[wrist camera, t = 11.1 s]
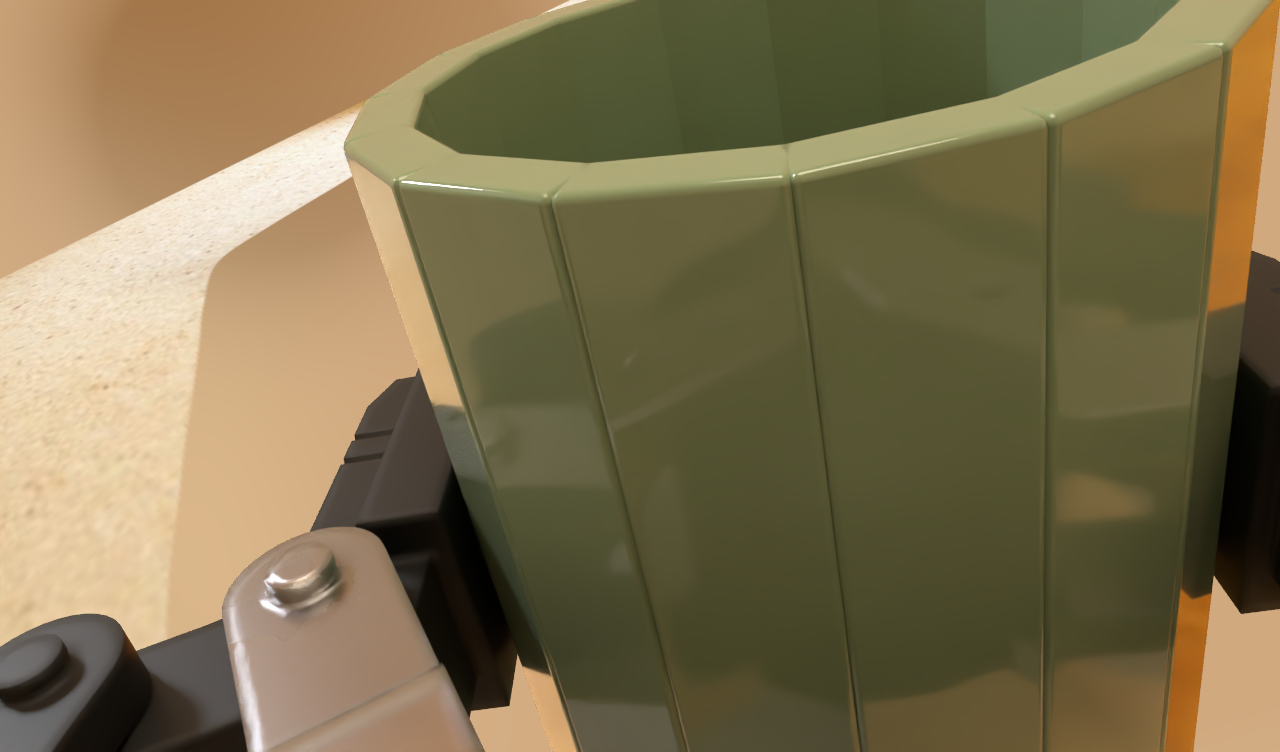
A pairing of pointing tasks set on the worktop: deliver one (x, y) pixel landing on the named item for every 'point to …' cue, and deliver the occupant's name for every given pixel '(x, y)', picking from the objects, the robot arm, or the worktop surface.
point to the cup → (837, 357)
